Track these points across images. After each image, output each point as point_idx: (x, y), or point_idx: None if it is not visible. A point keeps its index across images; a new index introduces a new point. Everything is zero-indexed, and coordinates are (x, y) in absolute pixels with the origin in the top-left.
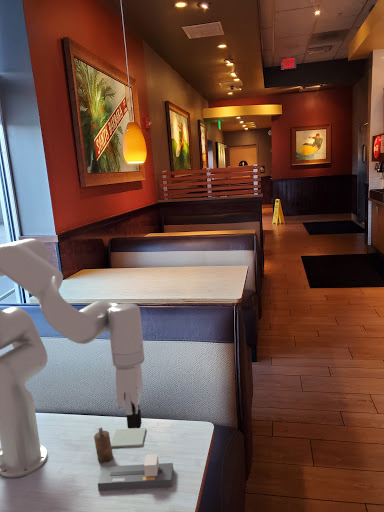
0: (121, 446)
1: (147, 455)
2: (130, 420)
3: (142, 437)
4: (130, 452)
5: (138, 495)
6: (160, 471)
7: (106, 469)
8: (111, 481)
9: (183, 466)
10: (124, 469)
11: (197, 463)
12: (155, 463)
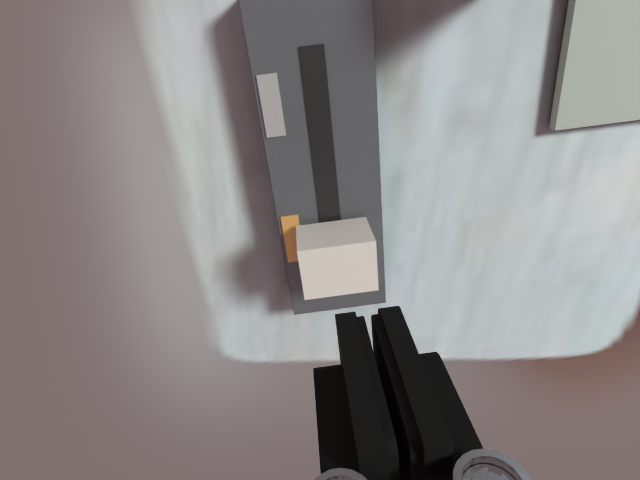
0: (569, 13)
1: (371, 248)
2: (319, 423)
3: (610, 117)
4: (516, 77)
5: (243, 192)
6: None
7: (348, 5)
8: (259, 71)
9: None
10: (348, 112)
11: None
12: (314, 295)
